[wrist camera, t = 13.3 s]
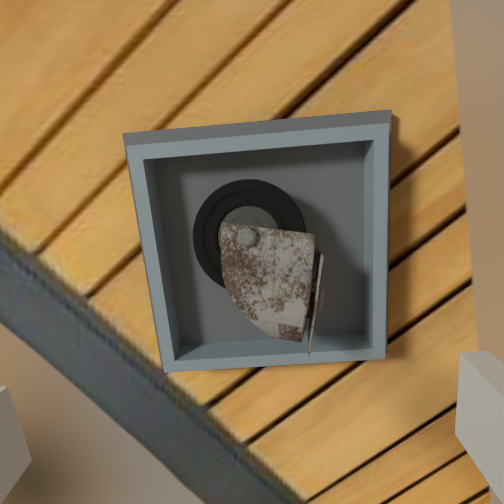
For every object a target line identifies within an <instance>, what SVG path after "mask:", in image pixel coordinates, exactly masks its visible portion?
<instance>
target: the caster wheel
mask: <svg viewBox="0 0 504 504" xmlns="http://www.w3.org/2000/svg"><path fill="white" fill-rule="evenodd" d="M192 239H193V246H194V251H195V255H196V258H197V260H198V262H199V264H200V266H201V268H202V269H203V271H204V272H205V273H206V274H207V275H208V276H209V277H210V279H211V280H213V281H214V282H215V283H217V284H218V285H219V286H221V287H223V288H225V289H227V291H228V293H229V295H230V297H231V299H232V300H233V302H234V303H235V305H236V306H237V307H238V309H239V310H240V311H241V312H242V313H243V314H244V315H245V316H246V317H247V318H248V319H249V320H250V321H251V322H252V323H253V324H254V325H256V326H257V327H258V328H260V329H261V330H262V331H264V332H265V333H267V334H269V335H270V336H272V337H274V338H276V339H282V340H288V341H294V342H302V339H303V335H304V332H305V328H306V323H307V318H309V324H308V357H309V355H310V351H311V344H312V337H313V330H314V323H315V316H316V313H318V312H319V311H320V310H321V309H322V306H323V299H324V290H323V288H322V286H321V285H320V282H321V275H322V268H323V261H324V256H323V255H322V254H321V252H319V255H318V262H317V269H316V276H315V278H314V279H312V275H313V261H314V248H315V236H314V234H309V233H306V227H305V222H304V218H303V216H302V214H301V211H300V210H299V208H298V206H297V205H296V203H295V202H294V200H293V199H292V198H291V197H290V196H289V195H288V194H287V193H286V192H285V191H283V190H282V189H280V188H279V187H277V186H276V185H273V184H271V183H269V182H266V181H262V180H257V179H242V180H237V181H233V182H230V183H228V184H225V185H223V186H221V187H220V188H218V189H217V190H215V191H214V192H213V193H212V194H211V195H210V196H209V197H208V198H207V199H206V200H205V201H204V203H203V204H202V206H201V207H200V209H199V211H198V213H197V215H196V218H195V222H194V226H193V238H192Z"/></svg>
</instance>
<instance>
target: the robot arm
mask: <svg viewBox="0 0 504 504" xmlns="http://www.w3.org/2000/svg"><path fill="white" fill-rule="evenodd" d="M455 435H456V436H457V438H458V439H459V441H460V442H461V444H462V445H463V447H464V448H465V449H466V451H467V452H468V454H469V455H470V457H471V458H472V460H473V461H474V463H475V464H476V466H477V467H478V469H479V470H480V472H481V473H482V474H483V476H484V477H485V479H486V480H487V482H488V483H489V485H490V486H491V488H492V489H493V491H494V492H495V494H496V495H497V497H498V498H499V499H500V501H501V502H502V504H504V365H503V364H502V363H501V362H500V361H499V360H498V359H497V358H496V357H495V356H494V355H492V354H491V353H490V352H489V351H480V352H466V353H460V366H459V380H458V394H457V409H456V423H455ZM31 461H32V460H31V457H30V453H29V450H28V448H27V444H26V441H25V438H24V435H23V432H22V429H21V426H20V422H19V420H18V416H17V413H16V410H15V407H14V404H13V401H12V398H11V395H10V392H9V389H8V386H0V504H1V503H2V501H3V500H4V498H5V497H6V496H7V494H8V493H9V491H10V490H11V488H12V487H13V486H14V484H15V483H16V482H17V480H18V479H19V477H20V476H21V475H22V473H23V472H24V470H25V469H26V468H27V466H28V465H29V464H30V462H31Z"/></svg>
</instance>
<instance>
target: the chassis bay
mask: <svg viewBox="0 0 504 504" xmlns="http://www.w3.org/2000/svg"><path fill="white" fill-rule="evenodd" d="M391 111H392V110H380V111H369V112H358V113H347V114H335V115H324V116H313V117H302V118H291V119H279V120H268V121H257V122H246V123H234V124H223V125H212V126H201V127H190V128H178V129H167V130H156V131H145V132H133V133H122V134H123V140H124V146H125V152H126V158H127V163H128V169H129V175H130V181H131V187H132V193H133V199H134V205H135V211H136V217H137V223H138V229H139V234H140V240H141V246H142V252H143V258H144V264H145V270H146V276H147V282H148V288H149V294H150V300H151V306H152V311H153V317H154V323H155V329H156V335H157V341H158V347H159V353H160V359H161V365H162V367H163V368H164V372H181V371H197V370H213V369H229V368H245V367H262V366H278V365H294V364H310V363H327V362H343V361H359V360H375V359H385V353H387V336H388V280H389V224H390V167H391ZM242 179H257V180H262V181H266V182H269V183H271V184H273V185H276V186H277V187H279V188H280V189H282V190H283V191H285V192H286V193H287V194H288V195H289V196H290V197H291V198H292V199H293V200H294V202H295V203H296V205H297V206H298V208H299V210H300V211H301V214H302V216H303V218H304V222H305V227H306V233H309V234H314V236H315V248H314V261H313V275H312V279H314V278H315V276H316V269H317V262H318V255H319V252H321V254H322V255H323V256H324V261H323V268H322V275H321V282H320V285H321V286H322V288H323V290H324V299H323V306H322V309H321V310H320V311H319V312H318V313H316V316H315V323H314V330H313V337H312V344H311V351H310V355H309V357H308V324H309V318H307V323H306V328H305V332H304V335H303V339H302V342H294V341H288V340H282V339H276V338H274V337H272V336H270V335H269V334H267V333H265V332H264V331H262V330H261V329H260V328H258V327H257V326H256V325H254V324H253V323H252V322H251V321H250V320H249V319H248V318H247V317H246V316H245V315H244V314H243V313H242V312H241V311H240V310H239V309H238V307H237V306H236V305H235V303H234V302H233V300H232V299H231V297H230V295H229V293H228V291H227V289H225V288H223V287H221V286H219V285H218V284H217V283H215V282H214V281H213V280H211V279H210V277H209V276H208V275H207V274H206V273H205V272H204V271H203V269H202V268H201V266H200V264H199V262H198V260H197V258H196V255H195V251H194V246H193V239H192V238H193V226H194V222H195V218H196V215H197V213H198V211H199V209H200V207H201V206H202V204H203V203H204V201H205V200H206V199H207V198H208V197H209V196H210V195H211V194H212V193H213V192H214V191H215V190H217V189H218V188H220V187H221V186H223V185H225V184H228V183H230V182H233V181H237V180H242Z"/></svg>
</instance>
